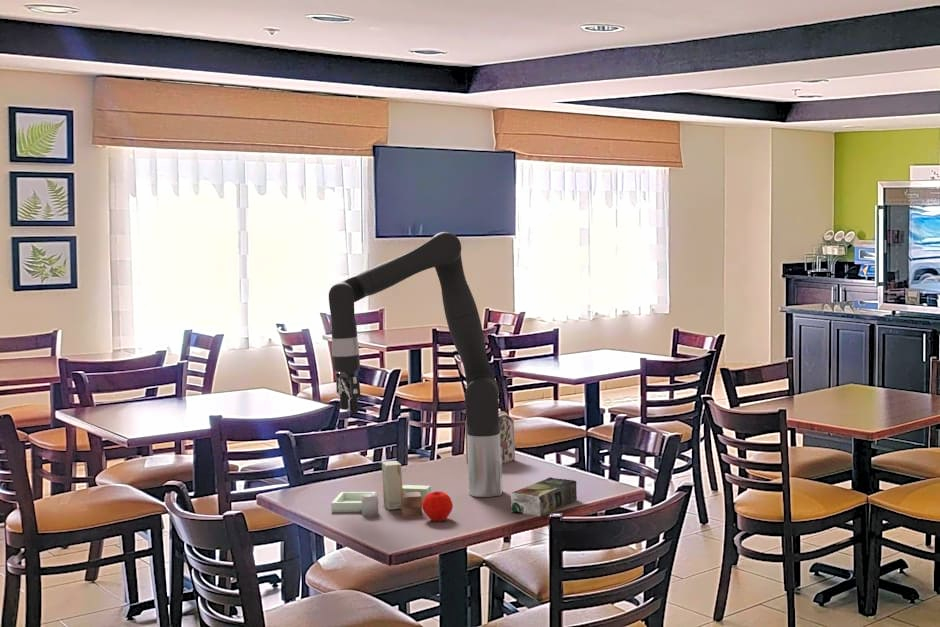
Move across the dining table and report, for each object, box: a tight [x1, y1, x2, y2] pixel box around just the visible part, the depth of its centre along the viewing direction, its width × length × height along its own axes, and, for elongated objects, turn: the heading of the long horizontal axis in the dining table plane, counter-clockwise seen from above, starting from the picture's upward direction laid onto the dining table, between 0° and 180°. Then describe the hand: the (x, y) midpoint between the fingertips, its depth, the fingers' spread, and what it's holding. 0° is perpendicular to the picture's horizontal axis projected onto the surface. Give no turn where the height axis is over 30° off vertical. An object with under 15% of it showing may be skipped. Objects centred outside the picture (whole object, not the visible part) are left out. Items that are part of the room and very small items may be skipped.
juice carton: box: [510, 476, 578, 517], centre depth 283 cm, size 20×10×6 cm, turn 144°
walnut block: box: [400, 492, 423, 517], centre depth 281 cm, size 5×5×5 cm
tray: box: [330, 491, 377, 513], centre depth 290 cm, size 10×12×2 cm
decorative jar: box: [464, 410, 516, 464], centre depth 341 cm, size 12×12×18 cm
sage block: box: [402, 484, 432, 502], centre depth 294 cm, size 8×4×4 cm, turn 74°
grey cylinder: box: [361, 493, 380, 517], centre depth 281 cm, size 4×4×5 cm
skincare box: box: [381, 460, 403, 511], centre depth 288 cm, size 6×4×12 cm
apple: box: [422, 490, 454, 522], centre depth 273 cm, size 8×8×7 cm
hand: (349, 411), depth 296 cm, fingers open, 8 cm apart
